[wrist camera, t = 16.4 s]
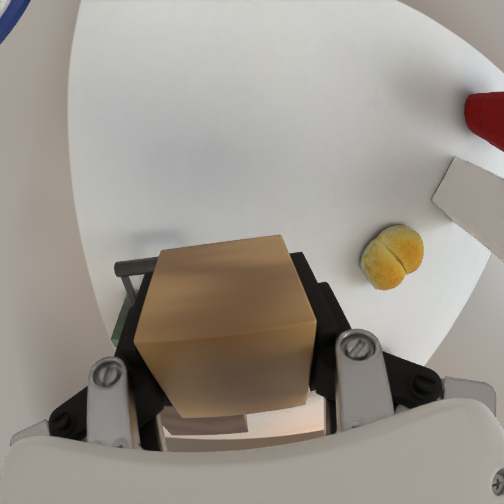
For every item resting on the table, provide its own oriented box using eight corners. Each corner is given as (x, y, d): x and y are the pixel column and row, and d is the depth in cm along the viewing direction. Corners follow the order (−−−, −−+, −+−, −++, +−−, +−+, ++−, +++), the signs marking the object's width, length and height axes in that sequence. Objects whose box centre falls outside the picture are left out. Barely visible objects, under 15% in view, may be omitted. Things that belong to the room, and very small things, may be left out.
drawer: (106, 242, 26) (80, 283, 20) (208, 228, 27) (205, 270, 21) (158, 362, 37) (153, 403, 31) (232, 357, 38) (236, 399, 31)
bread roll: (421, 250, 33) (437, 265, 29) (374, 289, 35) (386, 307, 32) (403, 208, 29) (422, 222, 26) (348, 252, 31) (362, 271, 28)
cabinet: (146, 341, 36) (136, 394, 28) (232, 334, 36) (237, 390, 29) (174, 391, 43) (171, 435, 35) (243, 387, 44) (248, 432, 36)
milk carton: (430, 199, 29) (538, 285, 13) (454, 155, 26) (570, 220, 10) (453, 222, 31) (543, 301, 15) (475, 183, 28) (571, 248, 12)
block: (187, 332, 12) (181, 419, 8) (160, 249, 10) (131, 341, 6) (283, 320, 12) (306, 405, 8) (281, 233, 10) (318, 320, 6)
